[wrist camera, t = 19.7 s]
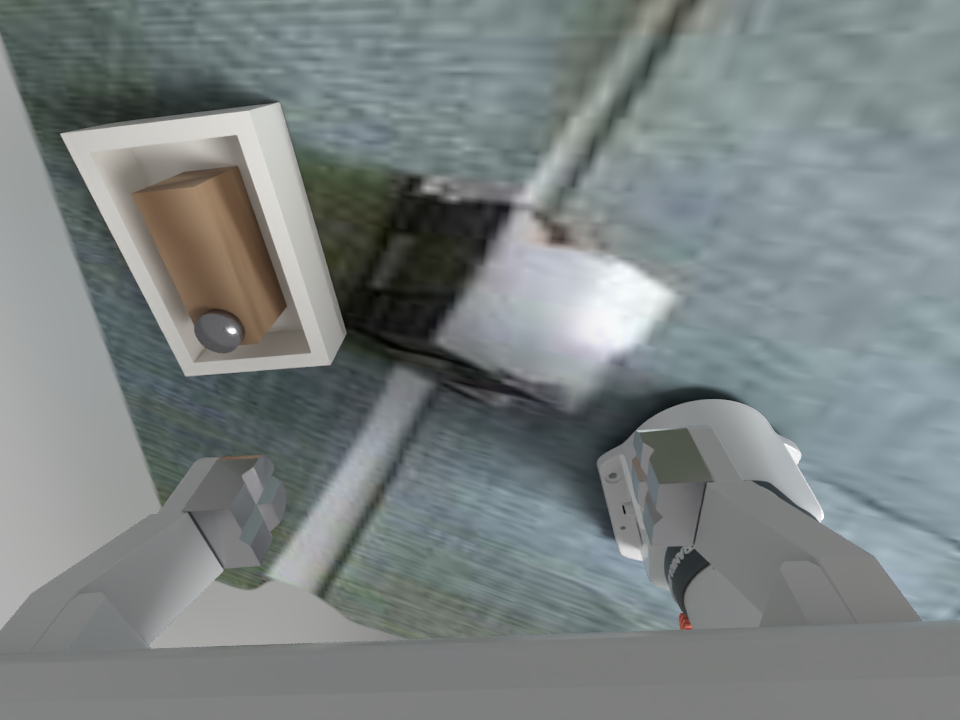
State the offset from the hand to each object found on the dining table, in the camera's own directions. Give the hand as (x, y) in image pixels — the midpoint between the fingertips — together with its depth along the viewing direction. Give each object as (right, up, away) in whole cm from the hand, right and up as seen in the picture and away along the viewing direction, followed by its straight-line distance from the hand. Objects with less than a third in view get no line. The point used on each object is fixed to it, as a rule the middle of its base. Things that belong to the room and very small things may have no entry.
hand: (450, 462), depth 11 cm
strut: (-18, +11, +27) cm, 34 cm away
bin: (-18, +12, +28) cm, 35 cm away
